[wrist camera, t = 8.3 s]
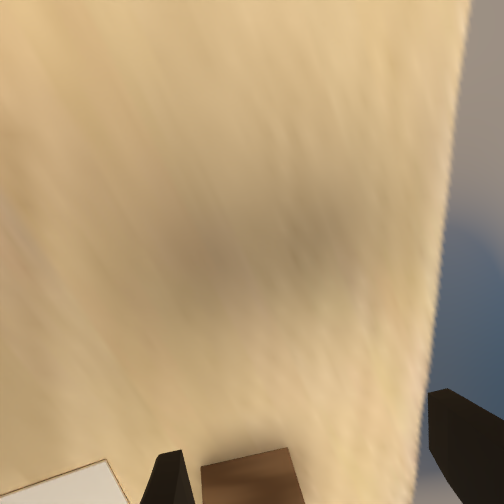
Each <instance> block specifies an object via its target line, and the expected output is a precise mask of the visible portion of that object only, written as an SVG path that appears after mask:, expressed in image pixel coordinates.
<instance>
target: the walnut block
mask: <svg viewBox="0 0 504 504" xmlns="http://www.w3.org/2000/svg"><path fill="white" fill-rule="evenodd" d="M201 480H202V497H203V504H305V502H304V499H303V495H302V492H301V489H300V486H299V483H298V479H297V476H296V473H295V470H294V467H293V463H292V460H291V457H290V454H289V451H288V447H286V448H282V449H277V450H273V451H269V452H264V453H260V454H255V455H251V456H246V457H242V458H237V459H233V460H229V461H224V462H220V463H215V464H211V465H206V466H202V467H201Z"/></svg>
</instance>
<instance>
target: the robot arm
mask: <svg viewBox="0 0 504 504" xmlns="http://www.w3.org/2000/svg"><path fill="white" fill-rule="evenodd" d="M428 423H429V450H430V452H431V453H432V455H433V457H434V458H435V461H436V463H437V464H438V466H439V468H440V470H441V471H442V473H443V475H444V477H445V478H446V480H447V482H448V483H449V484H450V486H451V488H452V489H453V490H454V492H455V493H456V494H457V496H458V497H459V499H460V500H461V501H462V503H463V504H504V420H502V419H501V418H499V417H497V416H495V415H493V414H492V413H490V412H488V411H487V410H485V409H483V408H481V407H479V406H478V405H476V404H474V403H473V402H471V401H469V400H468V399H466V398H464V397H462V396H460V395H459V394H457V393H455V392H453V391H452V390H450V389H448V388H447V389H443V390H439V391H434V392H430V393H428ZM140 504H195V501H194V497H193V493H192V489H191V485H190V481H189V477H188V473H187V469H186V465H185V461H184V457H183V453H182V449H181V450H177V451H172V452H168V453H163V454H159V456H158V457H157V458H156V461H155V464H154V467H153V470H152V473H151V476H150V479H149V482H148V484H147V487H146V489H145V492H144V494H143V497H142V499H141V502H140Z"/></svg>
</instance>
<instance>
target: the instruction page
mask: <svg viewBox="0 0 504 504" xmlns="http://www.w3.org/2000/svg"><path fill="white" fill-rule="evenodd" d="M0 504H129V502H128V500H127V498H126V496H125V495H124V493H123V491H122V489H121V487H120V485H119V483H118V481H117V479H116V477H115V476H114V474H113V472H112V470H111V468H110V466H109V464H108V462H107V460H103V461H100V462H97V463H94V464H91V465H88V466H86V467H83V468H80V469H77V470H74V471H71V472H68V473H65V474H63V475H60V476H57V477H54V478H51V479H48V480H45V481H43V482H40V483H37V484H34V485H31V486H28V487H25V488H22V489H20V490H17V491H14V492H11V493H8V494H5V495H2V496H0Z"/></svg>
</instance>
